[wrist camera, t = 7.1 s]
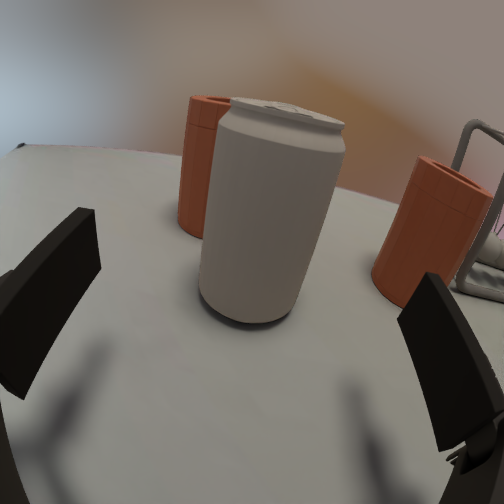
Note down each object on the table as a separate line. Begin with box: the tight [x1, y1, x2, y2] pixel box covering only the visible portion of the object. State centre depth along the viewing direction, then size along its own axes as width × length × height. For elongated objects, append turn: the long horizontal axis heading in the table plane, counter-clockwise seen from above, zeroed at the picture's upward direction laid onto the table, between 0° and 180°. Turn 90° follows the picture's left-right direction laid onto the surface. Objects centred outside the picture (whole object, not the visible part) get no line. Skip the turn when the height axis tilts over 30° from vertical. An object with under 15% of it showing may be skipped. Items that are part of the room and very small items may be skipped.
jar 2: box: [372, 155, 493, 308], centre depth 20 cm, size 7×7×11 cm
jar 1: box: [178, 96, 231, 239], centre depth 24 cm, size 7×7×11 cm
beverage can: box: [199, 97, 346, 323], centre depth 16 cm, size 6×6×12 cm
